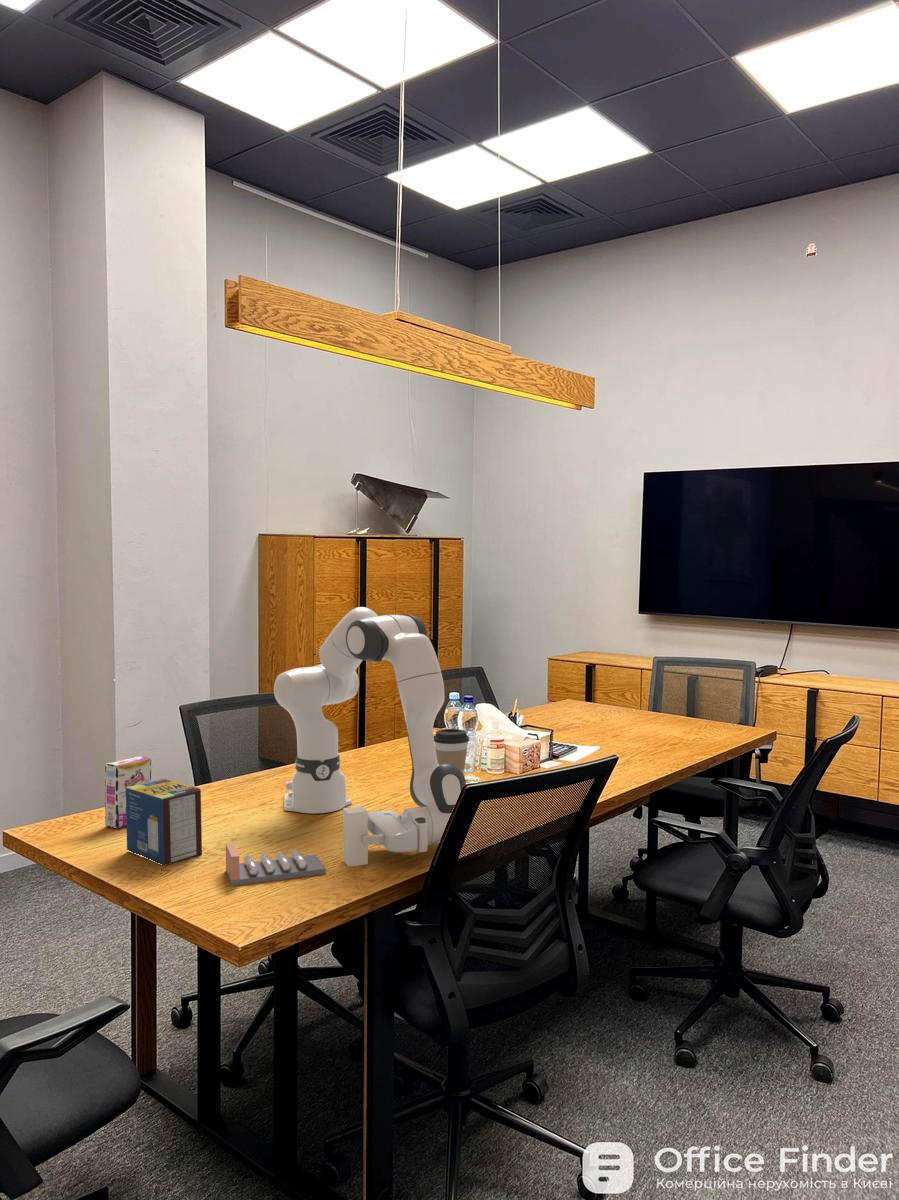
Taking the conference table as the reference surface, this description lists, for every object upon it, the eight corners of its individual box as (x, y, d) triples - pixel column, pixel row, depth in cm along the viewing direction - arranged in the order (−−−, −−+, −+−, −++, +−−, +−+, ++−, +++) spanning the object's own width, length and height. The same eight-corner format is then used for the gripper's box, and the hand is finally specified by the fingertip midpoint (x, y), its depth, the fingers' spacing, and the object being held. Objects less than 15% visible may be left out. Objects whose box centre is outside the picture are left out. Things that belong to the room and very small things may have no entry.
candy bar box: (117, 830, 227) (116, 766, 226) (104, 827, 229) (103, 763, 229) (153, 819, 236) (151, 757, 236) (140, 816, 239) (138, 755, 238)
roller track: (225, 870, 198) (225, 842, 197) (315, 859, 205) (315, 832, 205) (231, 886, 188) (231, 856, 188) (325, 873, 195) (325, 845, 195)
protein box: (164, 841, 218) (163, 778, 217) (202, 854, 208) (202, 788, 208) (125, 852, 210) (124, 786, 209) (163, 866, 200) (162, 798, 200)
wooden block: (343, 860, 204) (342, 808, 204) (362, 857, 206) (362, 806, 205) (348, 866, 200) (348, 813, 200) (367, 864, 202) (367, 811, 201)
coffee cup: (469, 775, 283) (469, 728, 282) (469, 784, 272) (469, 735, 271) (433, 775, 284) (433, 728, 283) (431, 784, 272) (431, 735, 271)
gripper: (400, 802, 217) (344, 807, 212) (428, 826, 198) (368, 832, 193) (400, 827, 218) (344, 834, 213) (428, 854, 199) (368, 861, 194)
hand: (356, 833), depth 203 cm, fingers open, 8 cm apart
